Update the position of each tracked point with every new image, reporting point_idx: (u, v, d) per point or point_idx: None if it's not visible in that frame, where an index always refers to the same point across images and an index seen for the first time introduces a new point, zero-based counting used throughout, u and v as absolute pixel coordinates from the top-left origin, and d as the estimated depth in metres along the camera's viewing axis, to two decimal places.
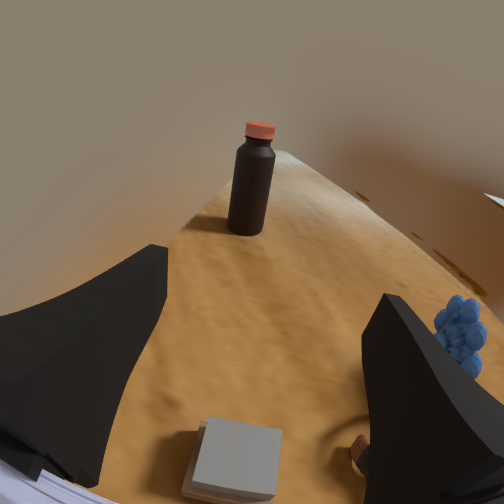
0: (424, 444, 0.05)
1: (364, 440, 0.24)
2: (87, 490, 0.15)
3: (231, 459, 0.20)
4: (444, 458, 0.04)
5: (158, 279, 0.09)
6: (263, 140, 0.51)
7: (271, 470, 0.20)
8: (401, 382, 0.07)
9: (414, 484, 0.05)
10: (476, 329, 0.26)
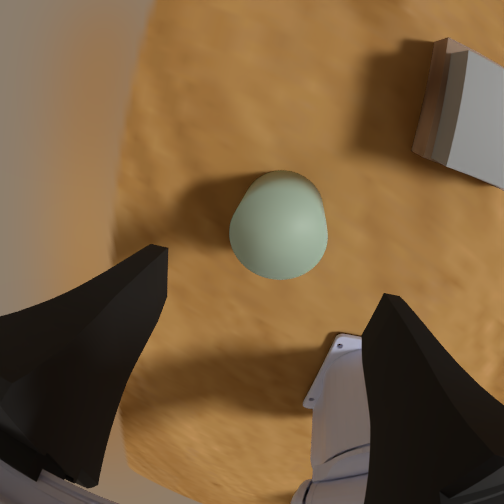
0: (424, 444, 0.05)
1: None
2: (296, 194, 0.14)
3: (495, 134, 0.11)
4: (444, 458, 0.04)
5: (158, 279, 0.09)
6: None
7: None
8: (401, 382, 0.07)
9: (414, 484, 0.05)
10: None
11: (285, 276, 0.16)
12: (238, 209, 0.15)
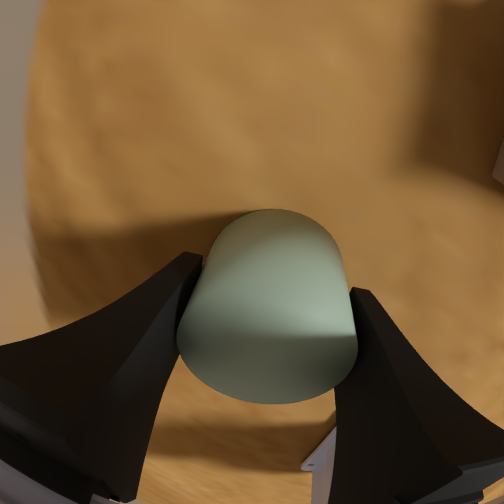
0: (381, 445, 0.05)
1: None
2: (303, 292, 0.07)
3: None
4: (399, 462, 0.04)
5: None
6: None
7: None
8: (364, 379, 0.07)
9: (371, 487, 0.05)
10: None
11: (278, 401, 0.09)
12: (188, 314, 0.08)
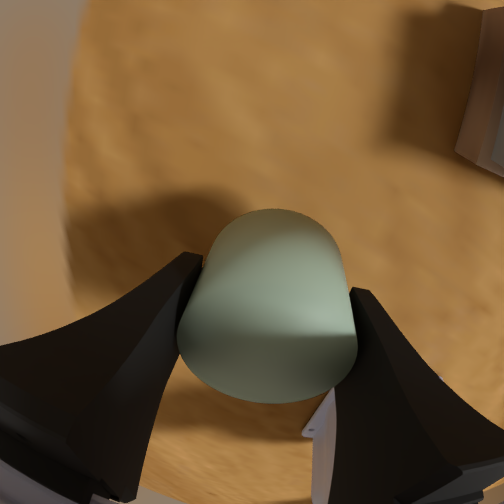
0: (381, 445, 0.05)
1: None
2: (303, 291, 0.07)
3: None
4: (399, 462, 0.04)
5: None
6: None
7: None
8: (364, 379, 0.07)
9: (371, 488, 0.05)
10: None
11: (278, 401, 0.09)
12: (188, 313, 0.08)
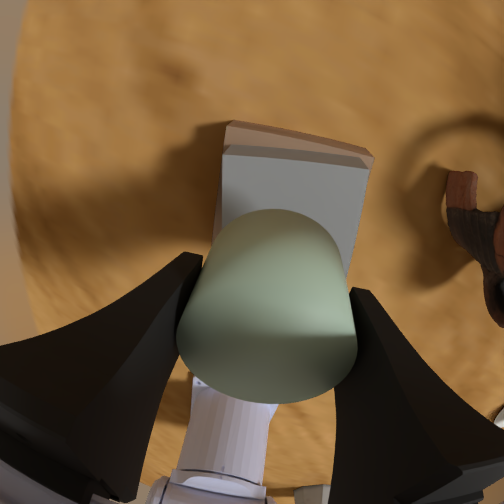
0: (381, 445, 0.05)
1: (473, 191, 0.13)
2: (304, 292, 0.07)
3: None
4: (399, 462, 0.04)
5: None
6: None
7: (342, 250, 0.14)
8: (364, 379, 0.07)
9: (371, 487, 0.05)
10: None
11: (277, 401, 0.09)
12: (188, 313, 0.08)
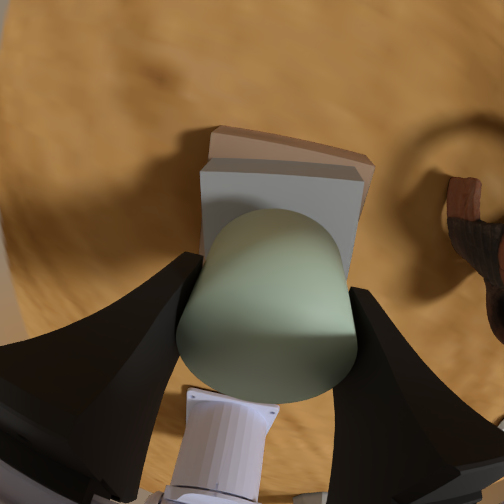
0: (379, 445, 0.05)
1: (477, 200, 0.12)
2: (304, 291, 0.07)
3: None
4: (397, 462, 0.04)
5: None
6: None
7: None
8: (363, 379, 0.07)
9: (369, 488, 0.05)
10: None
11: (277, 401, 0.09)
12: (188, 312, 0.08)
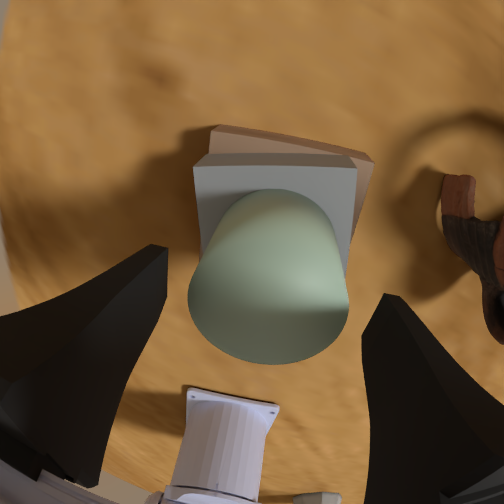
0: (424, 444, 0.05)
1: (471, 197, 0.12)
2: (300, 247, 0.08)
3: None
4: (444, 458, 0.04)
5: (158, 279, 0.09)
6: None
7: None
8: (401, 382, 0.07)
9: (414, 484, 0.05)
10: None
11: (277, 361, 0.10)
12: (199, 269, 0.09)
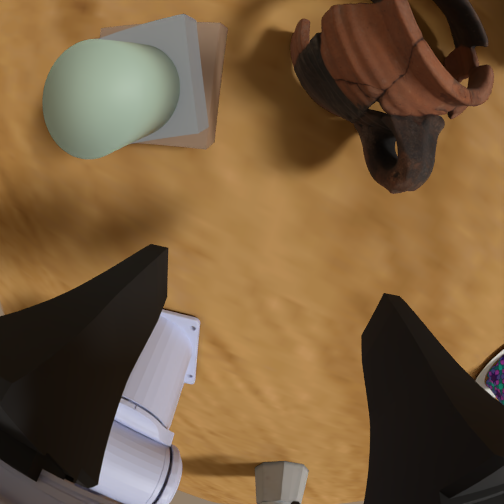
0: (424, 444, 0.05)
1: (304, 33, 0.12)
2: (96, 40, 0.08)
3: None
4: (444, 458, 0.04)
5: (158, 279, 0.09)
6: None
7: (182, 91, 0.13)
8: (402, 382, 0.07)
9: (414, 484, 0.05)
10: None
11: (103, 152, 0.11)
12: (47, 80, 0.09)
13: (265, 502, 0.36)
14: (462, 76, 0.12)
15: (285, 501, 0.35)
